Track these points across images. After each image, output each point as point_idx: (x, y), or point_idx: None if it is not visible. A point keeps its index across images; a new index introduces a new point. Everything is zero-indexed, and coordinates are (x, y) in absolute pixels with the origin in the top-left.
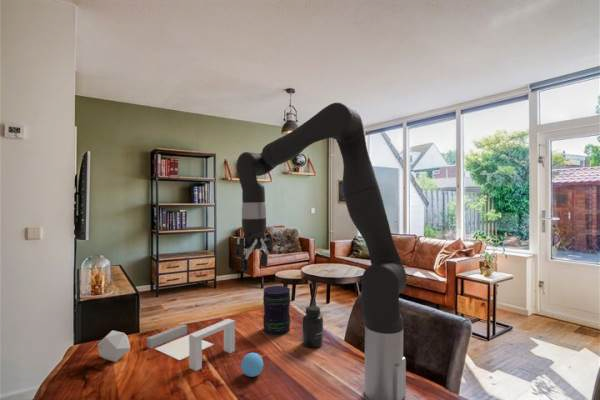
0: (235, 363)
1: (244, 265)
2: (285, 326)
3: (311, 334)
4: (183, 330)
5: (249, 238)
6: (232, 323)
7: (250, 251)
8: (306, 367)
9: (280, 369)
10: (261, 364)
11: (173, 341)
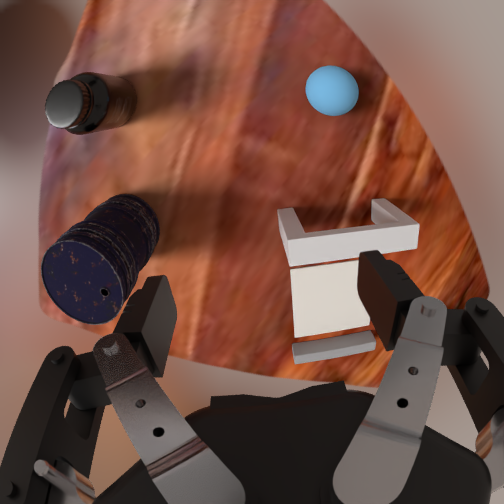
0: (316, 160)
1: (406, 277)
2: (117, 199)
3: (119, 83)
4: (302, 349)
5: (470, 493)
6: (296, 236)
7: (421, 343)
8: (214, 28)
9: (263, 61)
10: (325, 66)
11: (332, 330)
